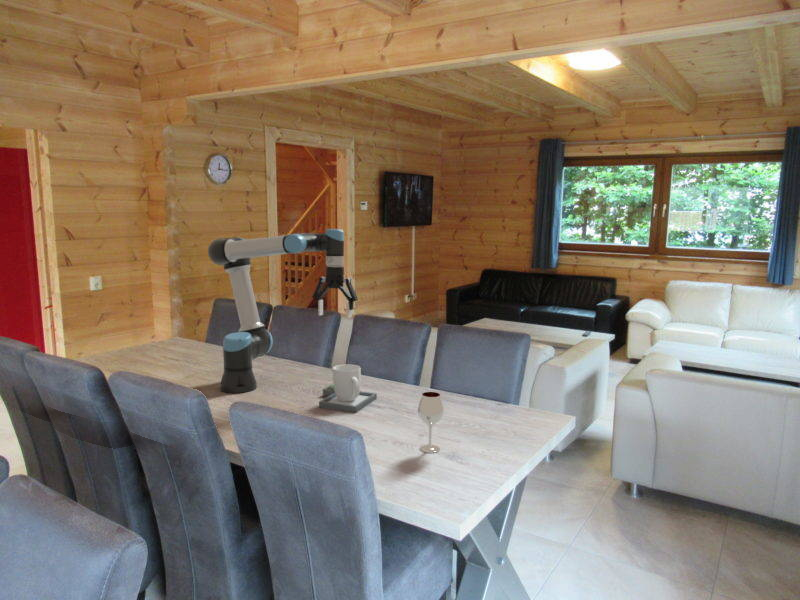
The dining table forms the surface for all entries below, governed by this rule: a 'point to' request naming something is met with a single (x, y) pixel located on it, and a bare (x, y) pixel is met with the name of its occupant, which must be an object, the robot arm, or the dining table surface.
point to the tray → (352, 406)
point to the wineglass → (430, 415)
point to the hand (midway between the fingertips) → (334, 316)
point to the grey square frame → (327, 391)
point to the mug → (346, 382)
